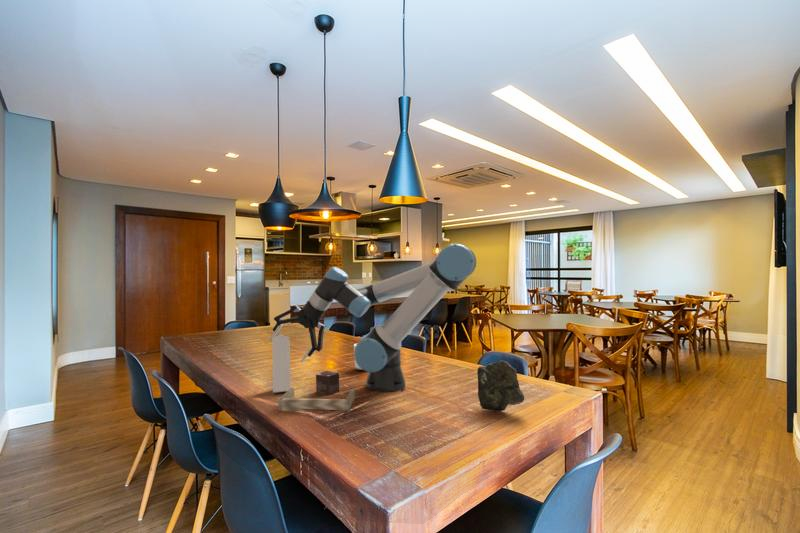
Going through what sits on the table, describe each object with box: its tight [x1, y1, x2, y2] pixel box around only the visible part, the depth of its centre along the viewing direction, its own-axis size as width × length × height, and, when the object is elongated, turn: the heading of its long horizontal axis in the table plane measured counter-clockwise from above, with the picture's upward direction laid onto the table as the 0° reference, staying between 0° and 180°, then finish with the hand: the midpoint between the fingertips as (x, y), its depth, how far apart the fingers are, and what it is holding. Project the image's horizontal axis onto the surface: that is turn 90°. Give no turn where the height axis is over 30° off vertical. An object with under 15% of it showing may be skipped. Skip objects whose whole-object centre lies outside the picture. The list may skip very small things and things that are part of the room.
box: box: [315, 370, 340, 396], centre depth 139 cm, size 6×6×7 cm
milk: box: [272, 333, 292, 394], centre depth 142 cm, size 6×6×22 cm
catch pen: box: [277, 387, 356, 414], centre depth 126 cm, size 22×11×4 cm, turn 86°
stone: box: [477, 359, 525, 412], centre depth 122 cm, size 15×10×15 cm
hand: (286, 350), depth 143 cm, fingers open, 13 cm apart
